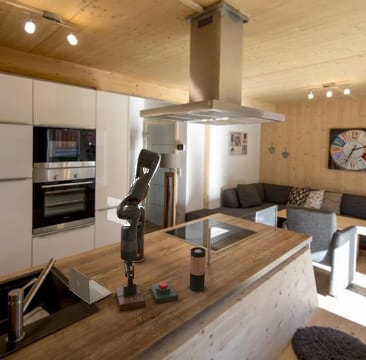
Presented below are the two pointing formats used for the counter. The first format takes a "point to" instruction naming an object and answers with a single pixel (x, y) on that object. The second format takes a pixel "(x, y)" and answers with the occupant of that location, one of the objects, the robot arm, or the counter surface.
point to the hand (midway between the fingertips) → (128, 281)
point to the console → (130, 299)
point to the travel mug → (197, 268)
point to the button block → (163, 293)
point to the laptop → (86, 287)
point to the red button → (163, 285)
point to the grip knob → (129, 289)
